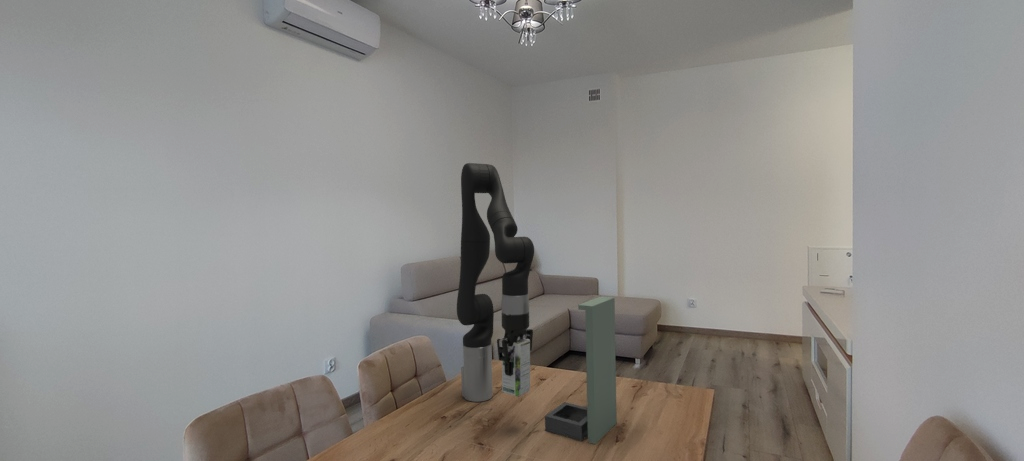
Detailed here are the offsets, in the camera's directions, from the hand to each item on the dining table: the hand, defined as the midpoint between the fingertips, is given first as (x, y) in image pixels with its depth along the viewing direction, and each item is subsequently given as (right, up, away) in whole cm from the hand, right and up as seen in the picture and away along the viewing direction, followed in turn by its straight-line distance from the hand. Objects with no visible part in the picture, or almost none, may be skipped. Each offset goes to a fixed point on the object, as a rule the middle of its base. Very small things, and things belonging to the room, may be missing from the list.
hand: (516, 371), depth 124 cm
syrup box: (0, -6, 0) cm, 6 cm away
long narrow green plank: (+23, -16, -2) cm, 28 cm away
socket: (+16, -16, +1) cm, 22 cm away
